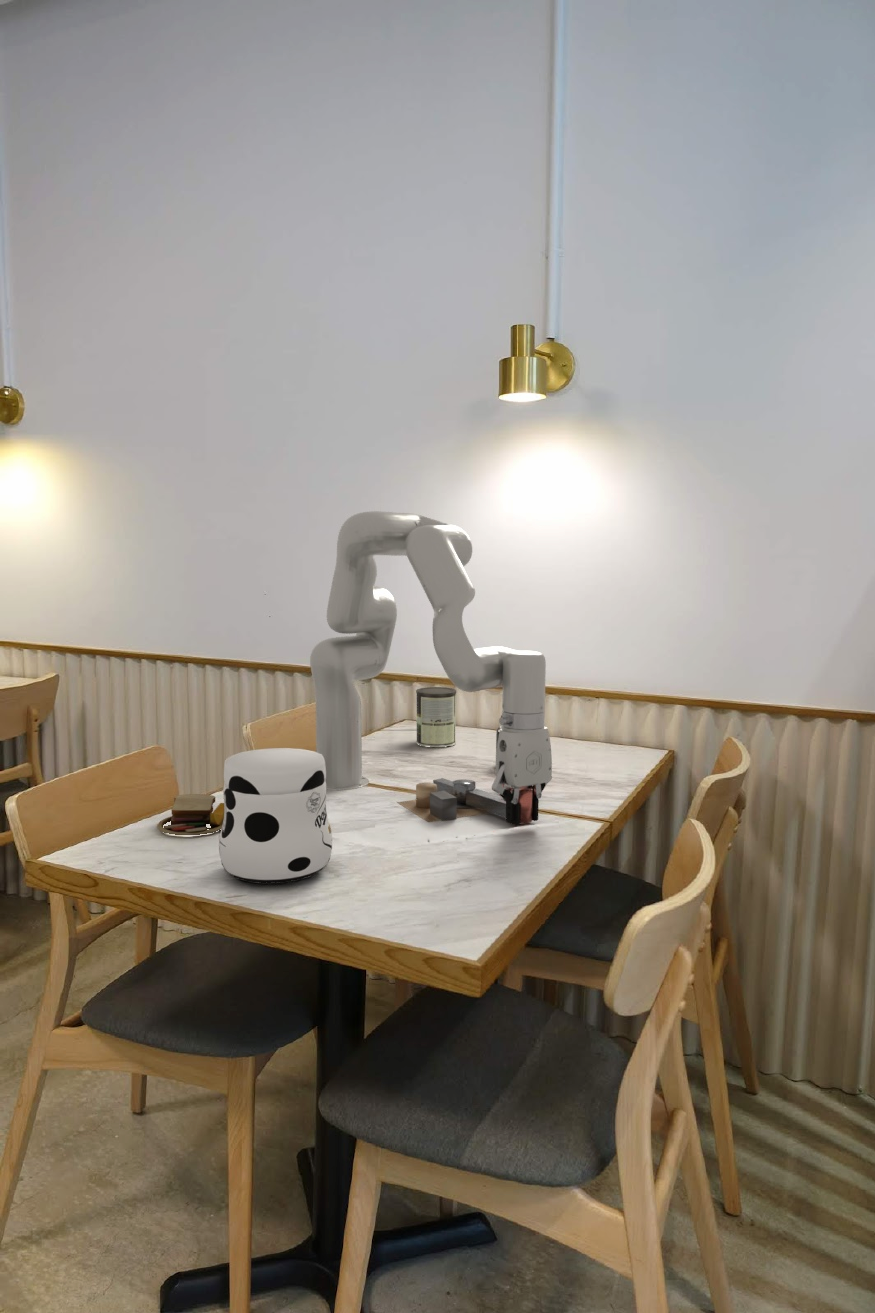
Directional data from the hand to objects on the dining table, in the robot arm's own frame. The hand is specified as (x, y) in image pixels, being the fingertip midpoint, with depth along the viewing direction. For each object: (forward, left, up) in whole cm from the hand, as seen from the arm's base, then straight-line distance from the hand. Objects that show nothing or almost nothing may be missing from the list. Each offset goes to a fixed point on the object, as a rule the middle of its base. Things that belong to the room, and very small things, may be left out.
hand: (521, 820), depth 161 cm
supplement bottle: (+22, +42, -2) cm, 47 cm away
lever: (-2, +11, 0) cm, 11 cm away
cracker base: (-7, +15, -2) cm, 17 cm away
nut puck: (-10, +18, -1) cm, 21 cm away
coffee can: (+17, +71, -2) cm, 73 cm away
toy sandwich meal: (-53, +27, -2) cm, 60 cm away
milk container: (-46, -1, -2) cm, 46 cm away
